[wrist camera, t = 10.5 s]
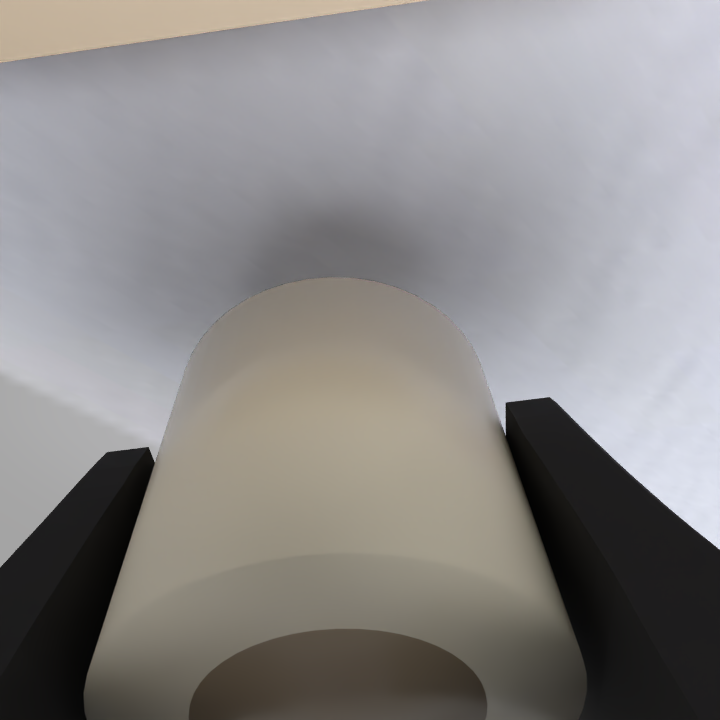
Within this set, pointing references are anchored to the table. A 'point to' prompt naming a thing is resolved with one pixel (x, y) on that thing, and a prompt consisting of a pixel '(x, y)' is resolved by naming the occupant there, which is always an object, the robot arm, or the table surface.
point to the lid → (143, 20)
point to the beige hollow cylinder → (335, 532)
